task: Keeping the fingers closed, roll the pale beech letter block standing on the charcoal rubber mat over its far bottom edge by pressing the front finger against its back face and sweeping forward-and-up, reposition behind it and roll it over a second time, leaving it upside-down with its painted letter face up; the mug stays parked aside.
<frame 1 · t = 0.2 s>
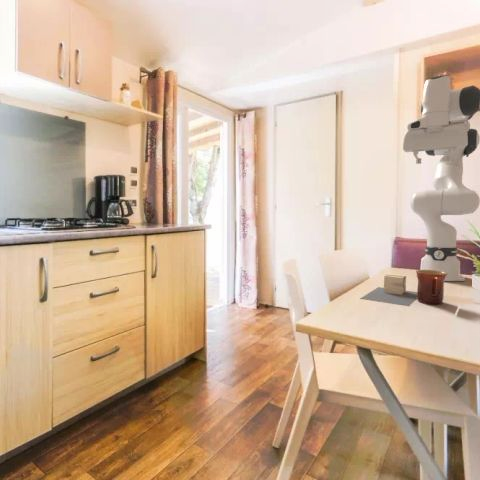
hand: (433, 162, 123), 47 cm above the table, fingers open, 8 cm apart
mug: (431, 305, 109), on the table
letter block: (394, 292, 124), resting on mat
mat: (391, 296, 119), on the table
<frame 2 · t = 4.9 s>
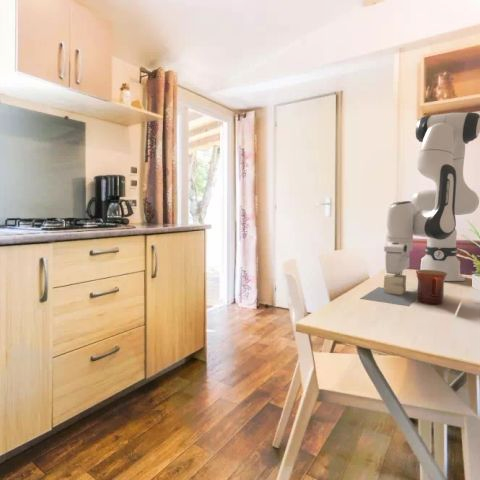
hand: (397, 282, 127), 3 cm above the table, fingers closed
letter block: (394, 292, 124), resting on mat, touching gripper
everything else where it was.
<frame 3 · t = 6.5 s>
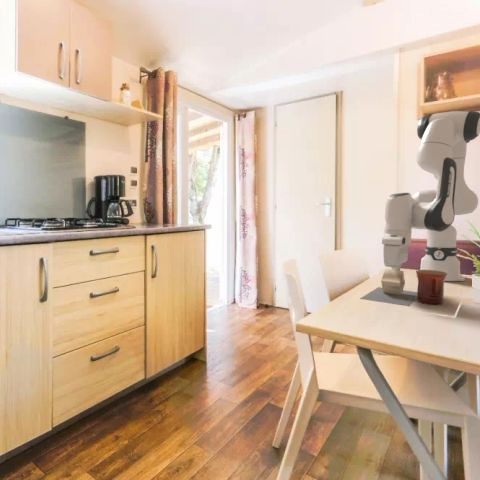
hand: (396, 276, 124), 6 cm above the table, fingers closed
letter block: (394, 287, 123), point 2 cm above the table, tilted 35°, touching gripper, mat
everything else where it was.
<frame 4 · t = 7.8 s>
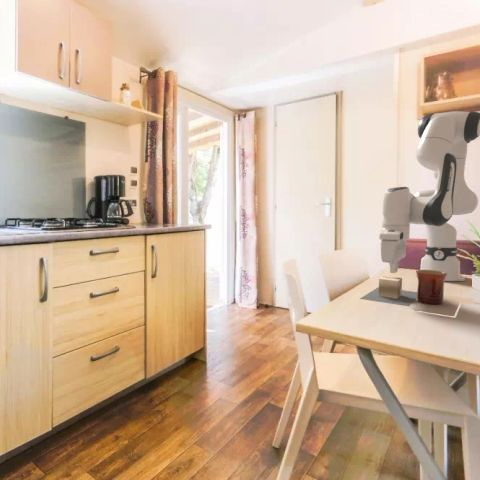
hand: (393, 272, 121), 8 cm above the table, fingers closed
letter block: (392, 285, 121), point 3 cm above the table, tilted 90°, touching mat
everything else where it was.
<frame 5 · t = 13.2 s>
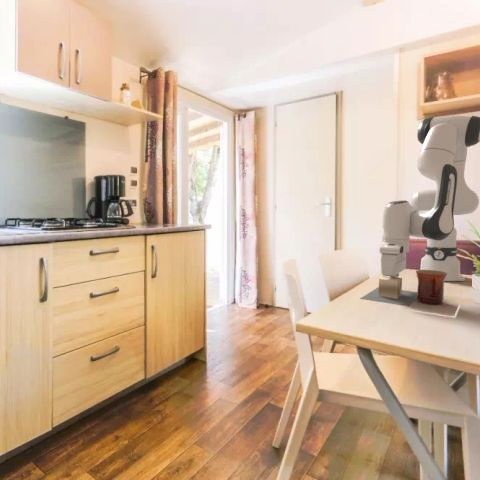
hand: (394, 285, 122), 3 cm above the table, fingers closed
letter block: (392, 285, 121), point 4 cm above the table, tilted 90°, touching gripper, mat
everything else where it was.
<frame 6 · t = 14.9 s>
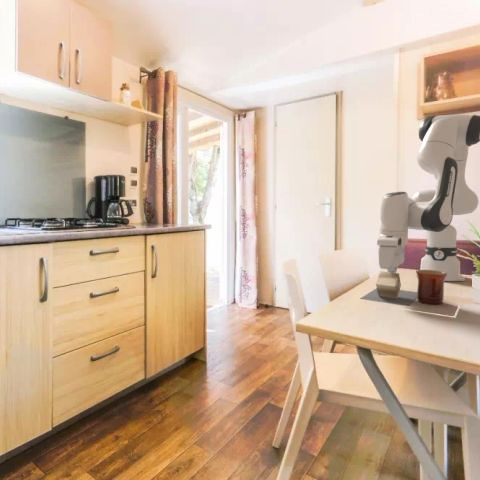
hand: (391, 278, 119), 6 cm above the table, fingers closed
letter block: (390, 278, 118), point 6 cm above the table, tilted 126°, touching gripper, mat
everything else where it was.
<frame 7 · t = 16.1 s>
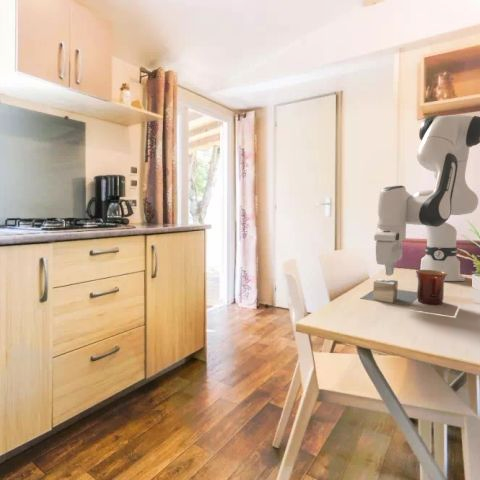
hand: (389, 274, 116), 8 cm above the table, fingers closed
letter block: (385, 281, 113), point 6 cm above the table, tilted 180°, touching mat
everything else where it was.
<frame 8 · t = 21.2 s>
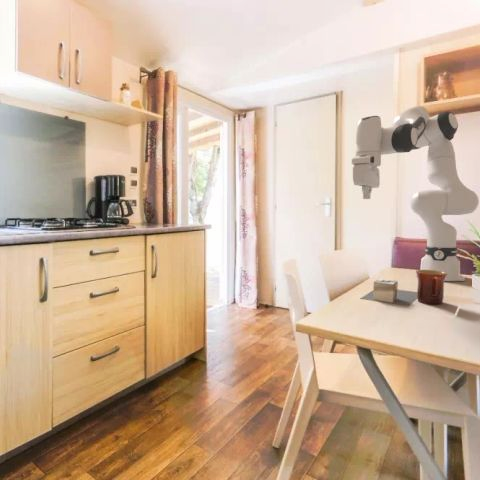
hand: (366, 199, 127), 34 cm above the table, fingers closed
nothing on the table moved.
at the end: letter block inside the target area (0.1 cm from its centre), point 6.5 cm above the table; letter block tilted 180°; letter block touching mat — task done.
